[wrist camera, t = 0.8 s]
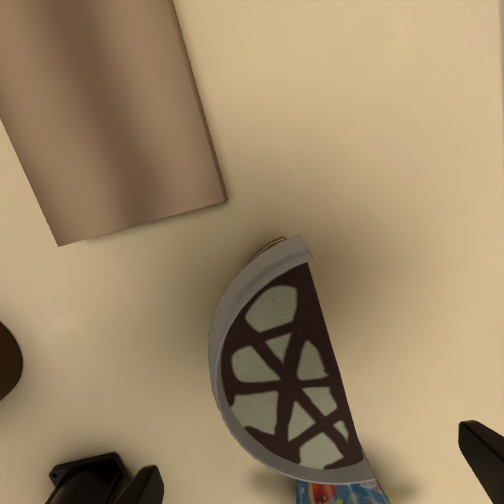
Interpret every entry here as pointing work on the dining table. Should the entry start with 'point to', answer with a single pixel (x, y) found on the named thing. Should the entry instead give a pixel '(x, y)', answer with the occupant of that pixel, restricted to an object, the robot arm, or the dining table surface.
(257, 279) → the food container
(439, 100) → the dining table surface
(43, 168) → the base board
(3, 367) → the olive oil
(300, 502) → the snack cup
